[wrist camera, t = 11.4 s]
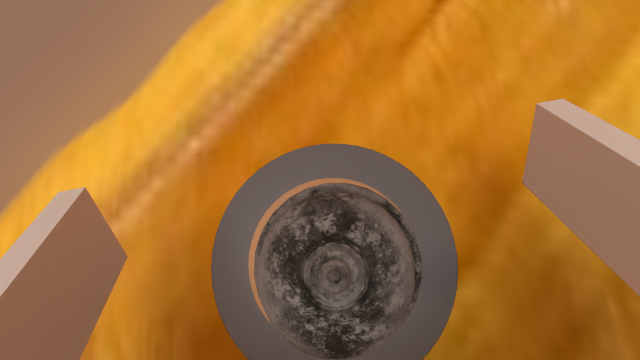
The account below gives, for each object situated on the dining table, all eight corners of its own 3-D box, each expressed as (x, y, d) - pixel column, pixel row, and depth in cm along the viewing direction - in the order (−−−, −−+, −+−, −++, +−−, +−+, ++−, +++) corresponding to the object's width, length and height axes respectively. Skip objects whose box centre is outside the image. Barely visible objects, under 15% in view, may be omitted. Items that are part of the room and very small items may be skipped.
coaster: (502, 275, 17) (511, 276, 16) (320, 447, 16) (319, 458, 15) (344, 105, 19) (345, 98, 18) (171, 247, 18) (162, 247, 17)
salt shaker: (410, 207, 17) (578, 90, 5) (396, 344, 16) (571, 606, 4) (283, 189, 17) (165, 44, 6) (260, 321, 16) (51, 492, 4)
